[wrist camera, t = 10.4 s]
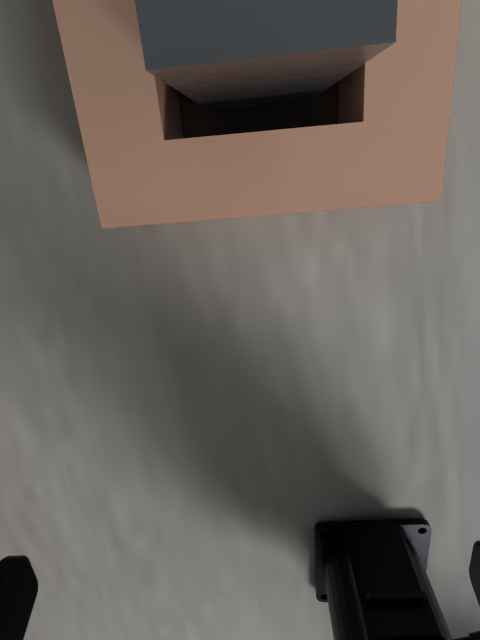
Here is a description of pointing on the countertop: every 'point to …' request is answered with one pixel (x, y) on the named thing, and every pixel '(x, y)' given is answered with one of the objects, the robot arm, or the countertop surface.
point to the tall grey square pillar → (260, 46)
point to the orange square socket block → (263, 146)
